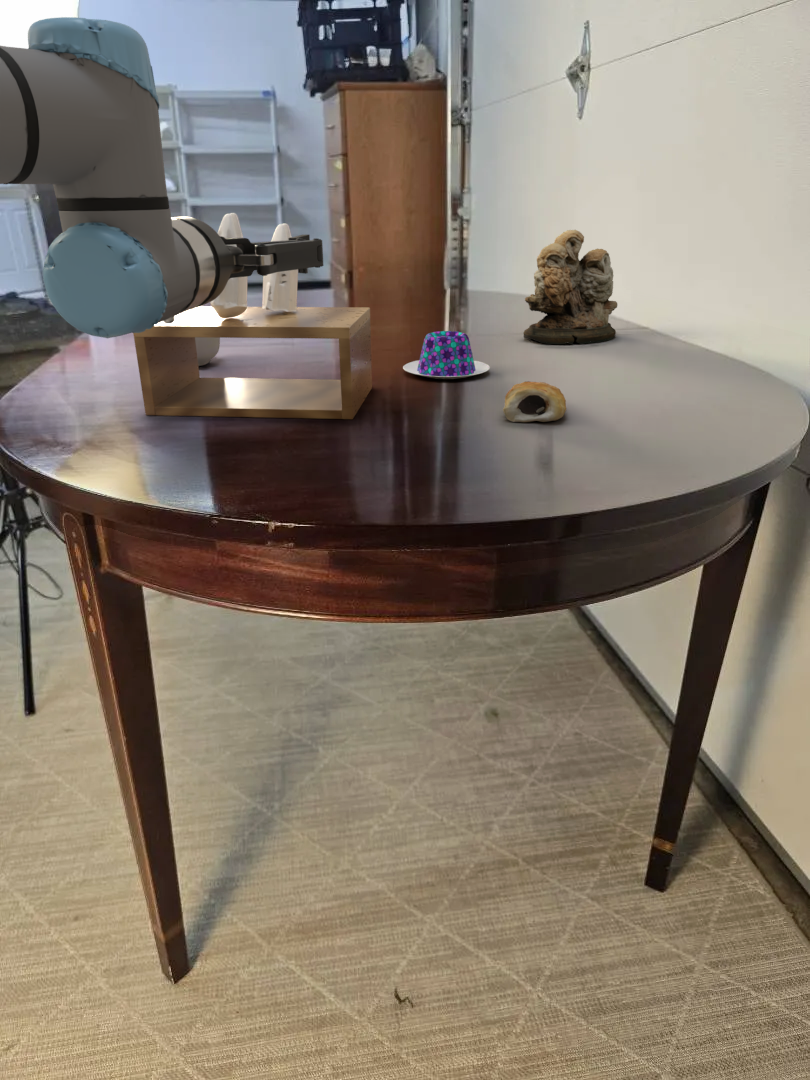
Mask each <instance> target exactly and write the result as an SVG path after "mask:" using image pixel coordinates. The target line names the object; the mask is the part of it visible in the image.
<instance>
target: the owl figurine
mask: <svg viewBox="0 0 810 1080" xmlns="http://www.w3.org/2000/svg"><path fill="white" fill-rule="evenodd" d="M584 242H585V236H584V234H583V233H582V232H581V231H579V230H576V229H567V230H566V231H563V232H562V233H561V234H559V235H558V236H556V237H555V239H554V242H553V243H550V244H548V245H546V246H544V247H543V248H542V249H541V250H540V253H539V254H538V255H537V257H536V266H537V270H536V271H535V272H534V273H533V279H534V281H533V283H534V287H535V288H534V294H533V293H531V294H530V295H528V296H526V297H525V298H524V301H525V303H527V304H528V307H529V310H530V311H531V312H540V313H541V314H544V315H545V316H543V318H541V319H540V320H539V321H537V322H535V323H532V324H530V325H529V326H528V327H527V328H526V329H525V330H524V331H523V338H524V339H530V340H533V341H534V342H535V341H536V342H538V343H540V344H547V345H566V344H569V345H572V344H574V342H576V343H577V344H579V345H584V344H585V345H586V344H594V343H602V342H607V341H610V340H613V339H614V338H615V337H616V333H617V331H616V329H615V328H614V327H613V326H612V324H611V323H610V322H609V318H610V315H612V313H613V311H615V310H616V309H617V308H618V302H617V301H616V300H609V299H610V298H611V297H612V296H613V290H614V268H613V267H612V265H611V264H612V262H611V257H610V253H609V252H608V251H607V250H606V249H604V248H595V249H592V250H589V251H588V252H586V254H584V255H583V257H581V259H579V253H580V251H581V249H582V246H583V244H584ZM575 338H576V340H575Z"/></svg>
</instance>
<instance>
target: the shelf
mask: <svg viewBox="0 0 810 1080" xmlns="http://www.w3.org/2000/svg"><path fill="white" fill-rule="evenodd" d="M296 310H297V311H295V312H294V311H292V312H291V311H290V312H286V311H284V310H277V311H274V310H266V308H264V309H263V308H262V306H247V309H246V310H245V312H243V313H242V314H241V315H239V316H236V317H232V318H221V317H219V316H218V314H217V313H216V312H215V310H214V309H213V308H212V306H200V307H197V308H194V309H190V310H188V311H186V312H183V313H181V314H178V315H177V316H174V318H175V321H174V322H173V323H171V324H165V323H164V322H163V321H162V322H160V323H158V324H156V325H154V326H153V327H152V328H151V329H146V330H145V331H144V332H141V333H132V334H133V341H134V347H135V353H136V354H135V355H136V359H137V366H138V374H139V380H140V386H141V393H142V394H141V395H142V399H143V406H144V413H145V416H169V417H170V416H171V417H174V416H175V417H221V418H222V417H223V418H268V419H269V418H271V419H274V418H275V419H323V420H325V419H326V420H354V418H355V416H356V415H357V413H358V412H359V410H360V408H361V407H362V405H363V403H364V402H365V400H366V399H367V397H368V395H369V394H370V392H371V390H372V389H373V373H372V371H373V369H372V367H373V366H372V335H371V332H372V331H371V308H370V307H367V306H366V307H364V306H363V307H362V306H361V307H359V306H358V307H357V306H356V307H355V306H354V307H352V306H351V307H350V306H349V307H347V306H344V307H343V306H297V308H296ZM195 337H213V338H220V339H221V338H222V339H223V338H224V339H225V338H226V339H227V338H228V339H229V338H230V339H320V340H321V339H322V340H323V339H326V340H328V339H332V340H333V339H334V340H338V350H339V351H338V354H339V375H340V377H339V378H340V379H325V378H323V379H321V378H320V379H319V378H318V379H317V378H316V379H315V378H311V379H310V378H262V377H261V378H259V377H257V378H255V377H253V378H252V377H251V378H248V377H200V368H199V367H200V366H198V359H197V350H196V342H195Z"/></svg>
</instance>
